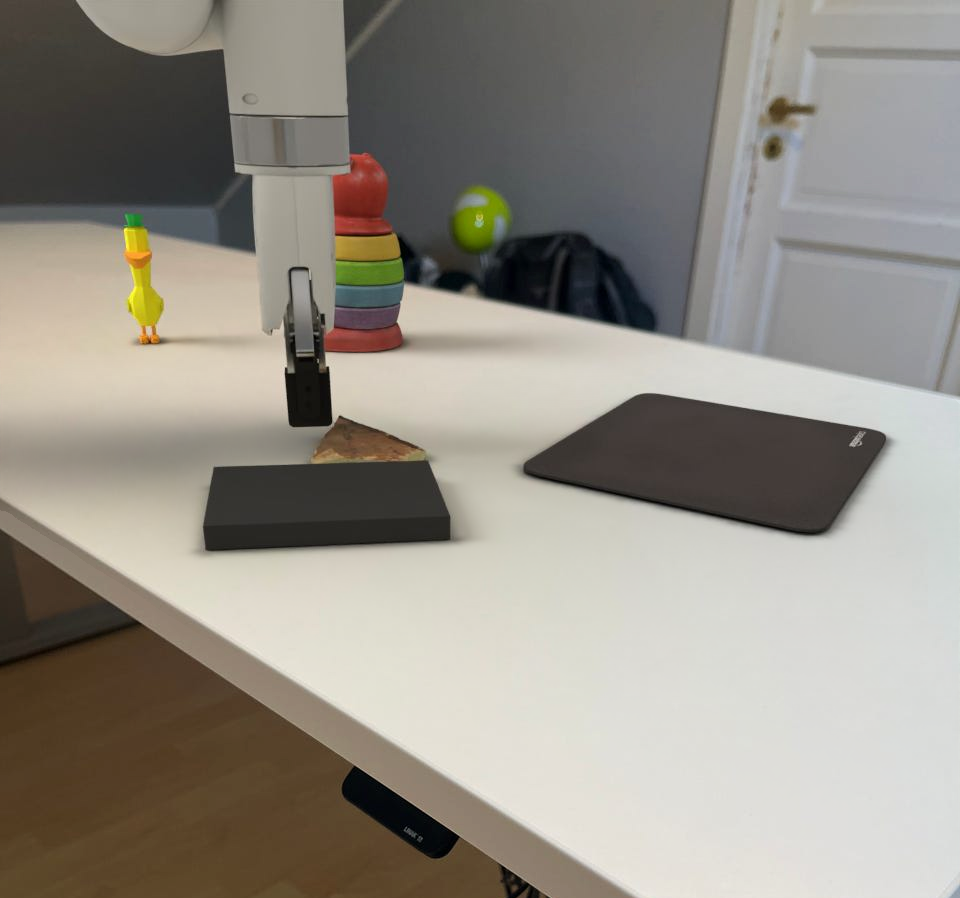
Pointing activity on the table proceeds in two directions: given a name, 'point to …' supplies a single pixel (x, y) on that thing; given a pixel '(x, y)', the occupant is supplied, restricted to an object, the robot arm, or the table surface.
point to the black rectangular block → (324, 505)
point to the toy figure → (141, 278)
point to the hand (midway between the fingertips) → (310, 422)
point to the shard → (363, 445)
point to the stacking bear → (365, 262)
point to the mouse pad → (717, 459)
